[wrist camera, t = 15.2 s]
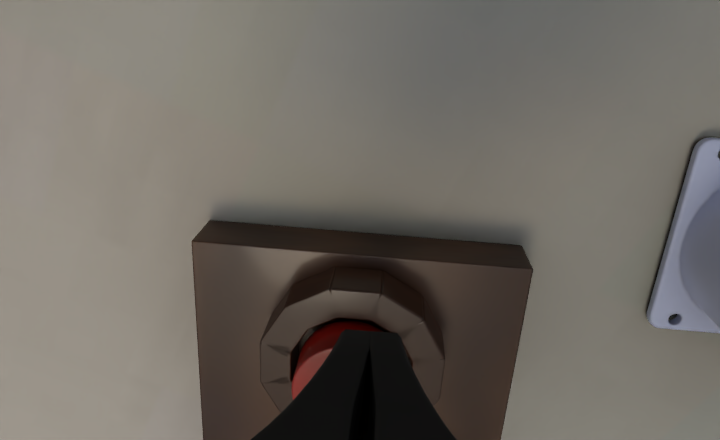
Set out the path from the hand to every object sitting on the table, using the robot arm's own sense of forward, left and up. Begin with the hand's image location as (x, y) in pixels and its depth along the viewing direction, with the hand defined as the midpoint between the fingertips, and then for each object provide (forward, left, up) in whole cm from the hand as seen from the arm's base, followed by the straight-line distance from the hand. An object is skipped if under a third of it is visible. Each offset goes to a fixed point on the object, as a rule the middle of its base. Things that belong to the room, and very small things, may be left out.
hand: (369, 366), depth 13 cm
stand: (+1, +10, -10) cm, 14 cm away
